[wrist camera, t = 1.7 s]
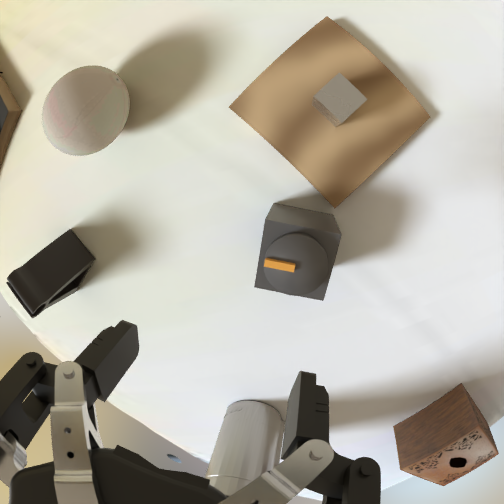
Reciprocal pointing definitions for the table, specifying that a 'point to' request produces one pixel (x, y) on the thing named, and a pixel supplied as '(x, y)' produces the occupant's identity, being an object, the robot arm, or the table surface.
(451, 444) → the tissue box cover
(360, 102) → the matte grey cube
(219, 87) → the table surface
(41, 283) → the phone stand
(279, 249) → the knob
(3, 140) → the file folder
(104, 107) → the eye model
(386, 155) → the base plate
